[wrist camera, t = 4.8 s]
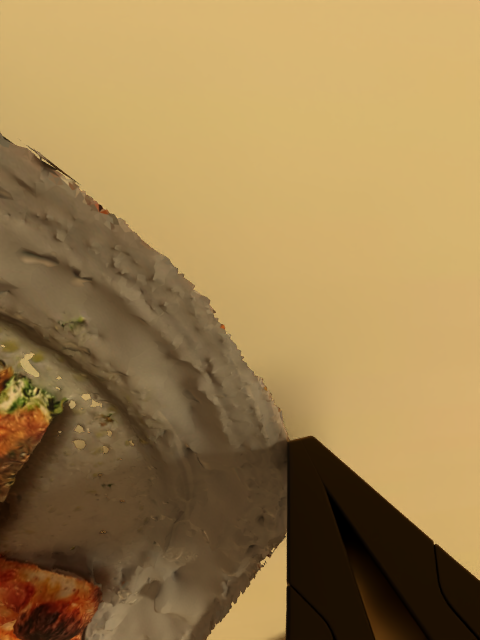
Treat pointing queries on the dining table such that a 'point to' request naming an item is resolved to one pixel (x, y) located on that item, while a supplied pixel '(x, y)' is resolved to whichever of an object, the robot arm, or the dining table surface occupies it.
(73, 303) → the food plate
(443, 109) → the dining table surface
